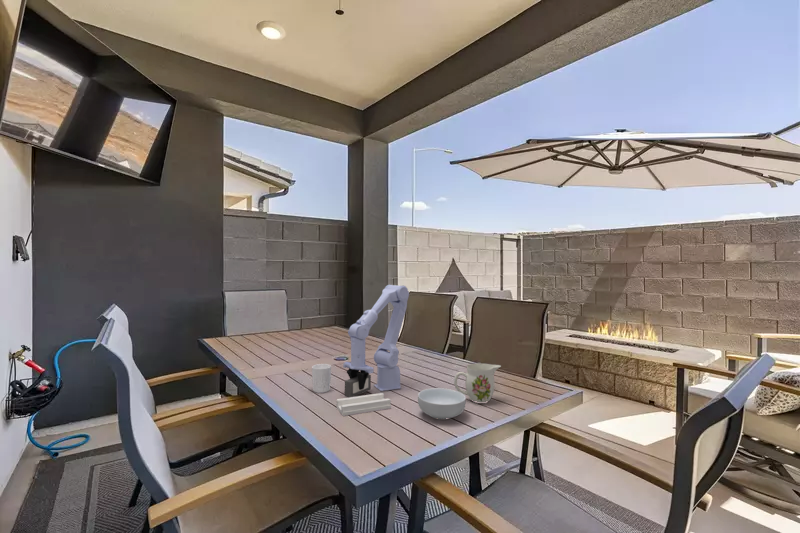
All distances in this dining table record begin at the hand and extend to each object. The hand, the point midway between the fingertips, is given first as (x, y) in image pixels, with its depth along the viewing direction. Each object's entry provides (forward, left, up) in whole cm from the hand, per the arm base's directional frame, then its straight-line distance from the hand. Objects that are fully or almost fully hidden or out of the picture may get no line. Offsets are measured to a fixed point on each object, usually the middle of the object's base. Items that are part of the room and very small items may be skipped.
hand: (358, 388), depth 152 cm
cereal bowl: (-21, +30, -3) cm, 37 cm away
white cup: (+12, -12, -3) cm, 17 cm away
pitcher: (-41, +23, -3) cm, 47 cm away
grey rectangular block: (0, 0, -2) cm, 2 cm away
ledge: (+2, +13, -3) cm, 13 cm away
